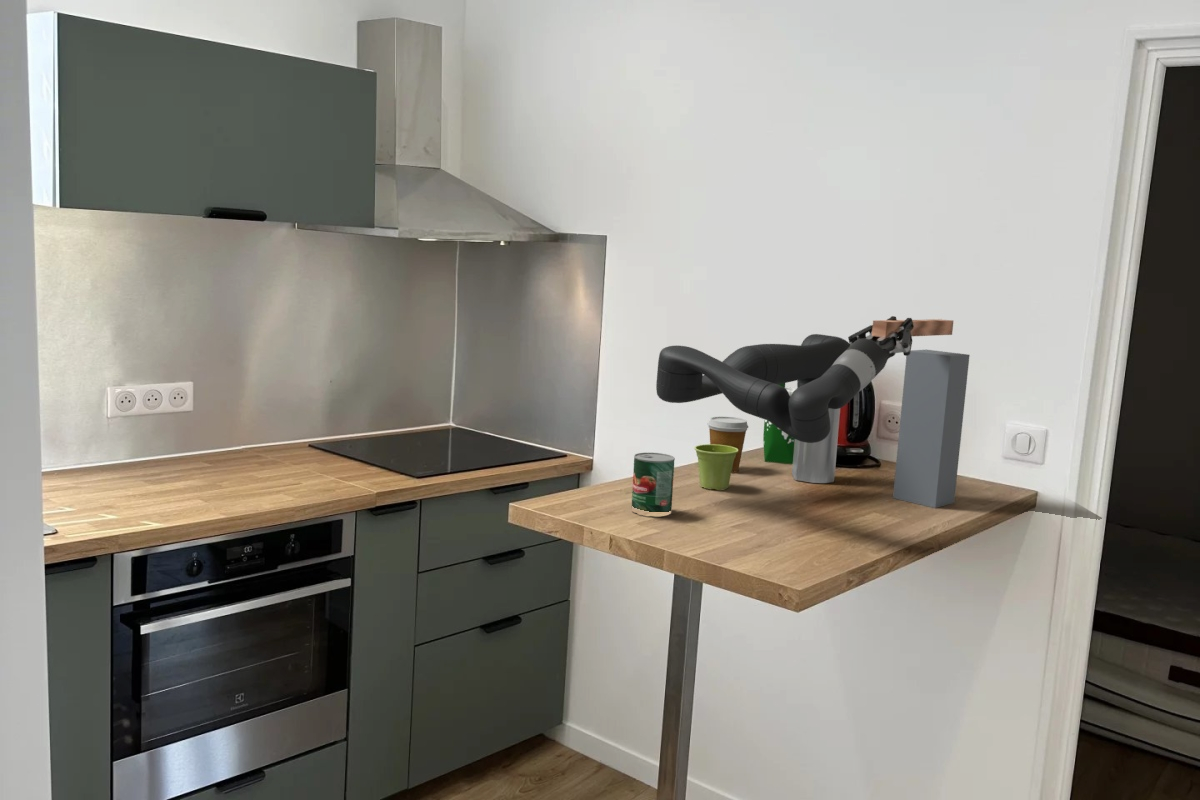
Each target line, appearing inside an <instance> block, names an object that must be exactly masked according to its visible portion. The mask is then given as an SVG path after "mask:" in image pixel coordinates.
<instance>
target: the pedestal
mask: <svg viewBox="0 0 1200 800" xmlns="http://www.w3.org/2000/svg"><path fill="white" fill-rule="evenodd" d="M970 357H971V356H970V354H967V353H966V354H965V353H959V352H950V351H949V352H948V351H943V350H942V351H941V350H932V349H914V350H912V349H911V352H910V355H908V356H905V358H906V359H905V367H904V368H905V369H904V376H903V386H902V387H903V389H902V399H901V410H900V419H899V420H900V421H899V430H898V440H897V451H896V462H895V469H894V470H895V471H894V481H893V490H892V491H893V492H892V493H893V494H892V499H896V500H900V501H904V502H909V503H913V504H917V505H920V506H925V507H929V508H933V509H937V508H940V507H941V508H942V507H943V506H948V505H952V504H955V498H956V488H957V478H958V468H959V461H960V451H961V450H960V449H961V441H962V432H963V423H964V422H963V421H964V413H965V412H964V410H965V404H966V403H965V402H966V392H967V384H968V374H969V373H968V372H969V364H970Z"/></svg>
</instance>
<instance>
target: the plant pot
mask: <svg viewBox="0 0 1200 800" xmlns="http://www.w3.org/2000/svg"><path fill="white" fill-rule="evenodd" d="M694 450H695V451H696V457H697V462H698V472H699V474H698V475H699V486H700V487H701V486H702V487H704V488H703V489H705V488H708V489H710V490H714V489H715V490H716V491H723V490H727V489H728V488H729V487H730V486H729V485H730V481H731V477H732V473H731V471H732V467H733V462H734V459H735V457H736V453H737V452H738V449H737V448H734V447H731V446H725V445H715V444H710V443H709V444H699V445H695V446H694ZM702 487H701V488H702ZM708 489H707V490H708Z"/></svg>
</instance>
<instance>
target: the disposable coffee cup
mask: <svg viewBox="0 0 1200 800" xmlns="http://www.w3.org/2000/svg"><path fill="white" fill-rule="evenodd" d="M708 421H709V422H708V423H707V426H708V428H709V431H708V432H709V444H715V445H725V446H731V447H734V448H737V449H738V452H737V453H736V457H735V459H734V462H733V467H732V471H731V474H732V473H737V472H739V469H740V464H741V458H742V453H743V448H744V443H745V440H746V434H747V431H748V429H749V425H748V420H746V419H743V418H741V417H734V416H713V417H710V418H709V420H708Z"/></svg>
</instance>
